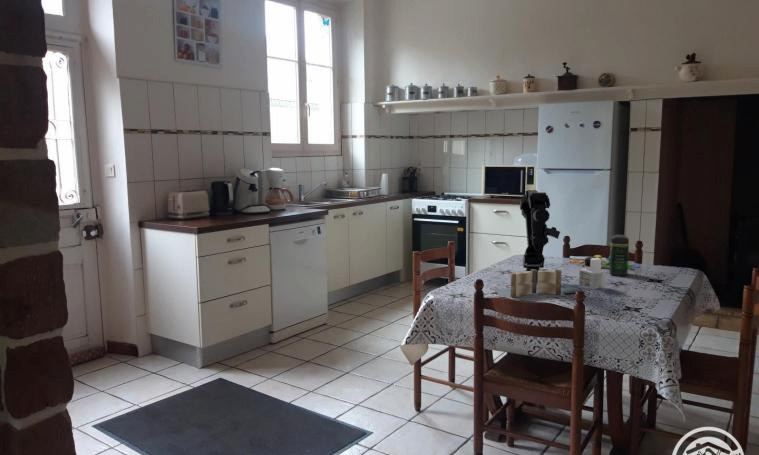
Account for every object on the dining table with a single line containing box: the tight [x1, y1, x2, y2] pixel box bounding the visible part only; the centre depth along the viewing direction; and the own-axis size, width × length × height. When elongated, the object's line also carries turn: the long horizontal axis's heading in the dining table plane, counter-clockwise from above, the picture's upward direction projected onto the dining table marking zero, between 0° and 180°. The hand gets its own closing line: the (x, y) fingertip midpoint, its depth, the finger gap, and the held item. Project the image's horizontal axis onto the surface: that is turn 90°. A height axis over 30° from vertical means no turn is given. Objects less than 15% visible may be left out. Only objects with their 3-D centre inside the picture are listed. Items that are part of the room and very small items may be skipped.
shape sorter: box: [569, 254, 640, 271], centre depth 293 cm, size 34×19×5 cm, turn 57°
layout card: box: [493, 287, 567, 298], centre depth 239 cm, size 15×26×1 cm, turn 92°
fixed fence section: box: [537, 269, 563, 294], centre depth 234 cm, size 9×2×10 cm, turn 72°
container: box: [578, 256, 607, 290], centre depth 246 cm, size 8×8×13 cm
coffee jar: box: [609, 234, 630, 277], centre depth 270 cm, size 10×8×19 cm
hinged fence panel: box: [510, 269, 538, 298], centre depth 233 cm, size 13×2×9 cm, turn 121°
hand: (540, 258), depth 246 cm, fingers closed
